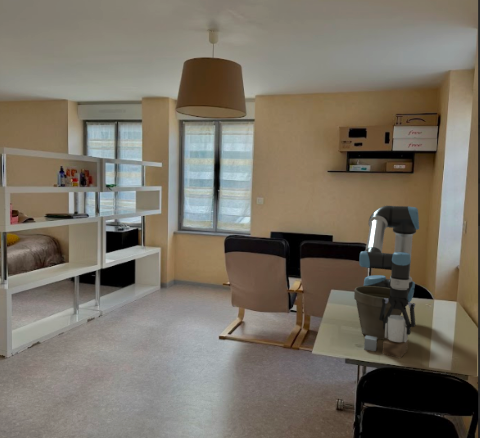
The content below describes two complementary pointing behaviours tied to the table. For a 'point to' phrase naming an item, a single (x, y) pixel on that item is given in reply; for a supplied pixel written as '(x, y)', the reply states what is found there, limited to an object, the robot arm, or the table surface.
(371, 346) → the grey cube
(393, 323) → the white cup
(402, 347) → the walnut block
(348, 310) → the table surface
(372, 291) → the plant pot
